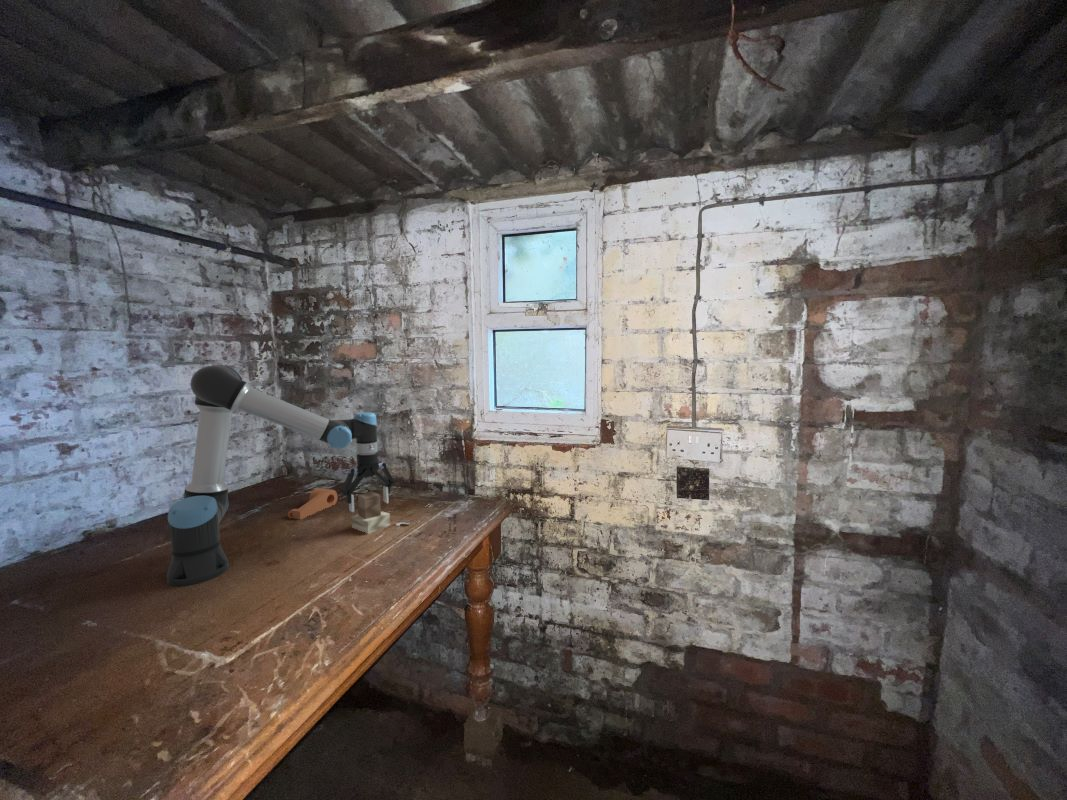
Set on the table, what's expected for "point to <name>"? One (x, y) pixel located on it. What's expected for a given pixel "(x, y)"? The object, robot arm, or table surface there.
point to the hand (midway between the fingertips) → (369, 506)
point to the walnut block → (369, 505)
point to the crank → (315, 503)
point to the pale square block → (371, 522)
